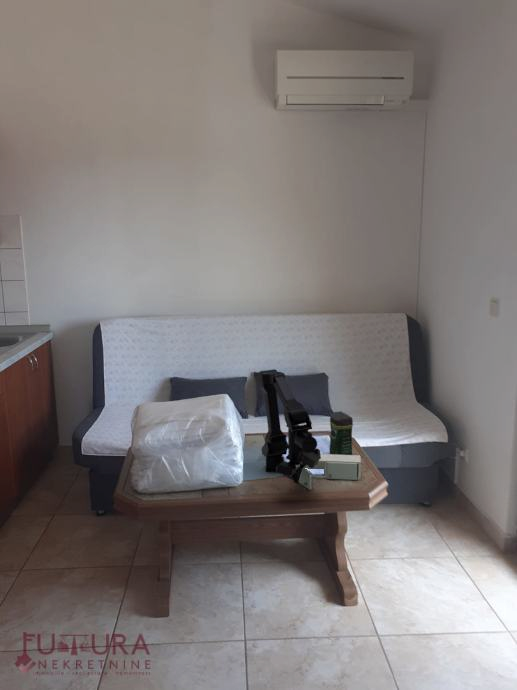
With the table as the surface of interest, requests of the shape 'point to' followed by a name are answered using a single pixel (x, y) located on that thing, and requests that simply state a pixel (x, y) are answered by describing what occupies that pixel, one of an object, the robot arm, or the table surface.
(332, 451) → the coffee jar
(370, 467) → the table surface
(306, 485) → the door
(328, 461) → the cabinet
